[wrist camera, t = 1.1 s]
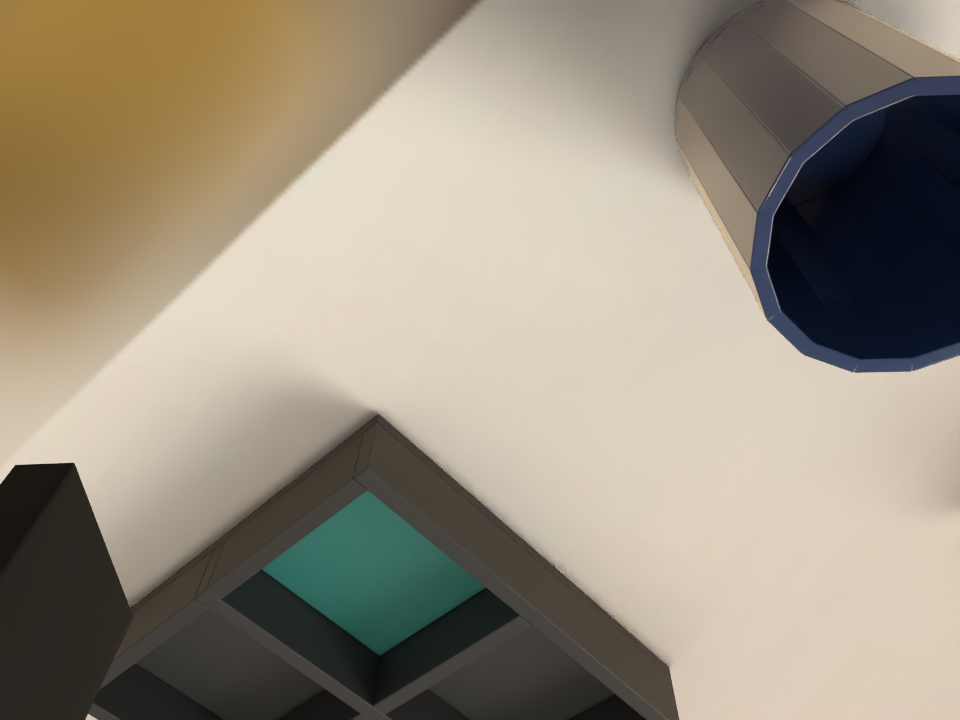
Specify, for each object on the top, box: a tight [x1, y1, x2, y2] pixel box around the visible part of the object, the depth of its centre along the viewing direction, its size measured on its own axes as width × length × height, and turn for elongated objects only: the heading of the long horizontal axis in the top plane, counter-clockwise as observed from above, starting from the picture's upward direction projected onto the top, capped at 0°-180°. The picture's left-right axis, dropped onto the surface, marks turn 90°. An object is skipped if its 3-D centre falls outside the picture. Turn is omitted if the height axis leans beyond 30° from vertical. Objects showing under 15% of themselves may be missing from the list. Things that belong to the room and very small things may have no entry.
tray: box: [88, 415, 679, 720], centre depth 42 cm, size 20×20×4 cm
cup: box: [675, 0, 960, 373], centre depth 25 cm, size 7×7×11 cm
